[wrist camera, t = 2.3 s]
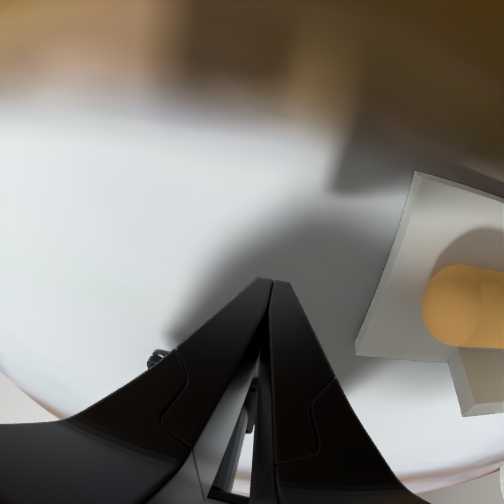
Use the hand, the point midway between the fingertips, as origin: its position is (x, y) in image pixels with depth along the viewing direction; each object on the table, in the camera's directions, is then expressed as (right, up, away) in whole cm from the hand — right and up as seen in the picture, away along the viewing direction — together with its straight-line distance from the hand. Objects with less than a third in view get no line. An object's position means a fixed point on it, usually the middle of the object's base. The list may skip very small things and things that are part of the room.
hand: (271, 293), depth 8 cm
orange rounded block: (+10, -1, +2) cm, 10 cm away
